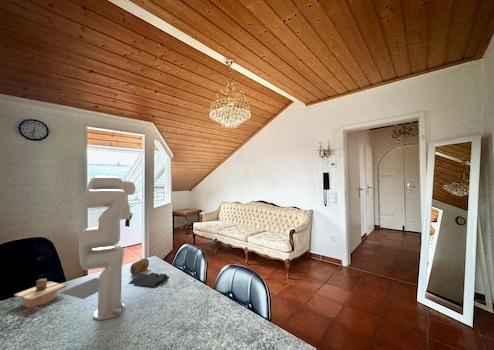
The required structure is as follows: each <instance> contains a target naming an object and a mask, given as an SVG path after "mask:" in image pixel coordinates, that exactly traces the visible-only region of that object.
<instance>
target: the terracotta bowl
mask: <svg viewBox="0 0 494 350" xmlns="http://www.w3.org/2000/svg"><path fill="white" fill-rule="evenodd" d="M57 296H58V290H57V291H55V292H52V293H50V294H47V295H45V296H43V297H40V298H38V299H35V300H33V301H29V300H26V299H23V298H22V299H23V304H22V306H23V307H26V308H34V307H37V306H41V305H44V304H46V303H48V302H50V301H53V300H55V298H56V297H57Z"/></svg>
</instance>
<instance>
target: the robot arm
mask: <svg viewBox="0 0 494 350" xmlns="http://www.w3.org/2000/svg"><path fill="white" fill-rule="evenodd" d="M135 193H136V185H135V182H133V181H128V180H123V179H122V178H120V177H118V176H116V175H115V176H114V175H110V176H109V175H108V176H107V175H96V176H94V177H92V178H91V179H90V181H89V182H88V184H87V187H86V188H85V191H84V194H83V196H82V203H83V205H84V206H85V207H86V208H92V209H93V208H106V209H105V210H104V211H103V212H101V214H100V215H99V217H98V226H95V227H87V228H84V229H83V230H82V231H81V232H80V233H79V237H78V253H79V265H80V268H81V269H82V270H84V271H89V270H95V269H103V270H102V271H101V272H100V274H99V276H98V278H99V279H98V292H97V309H96V310H95V311H94V312H93V315H92V316H93V319H95V320H96V321H104V320H109V319H113V318H114V317H117V316H119V315H120V314H122V313H123V311H124V310H125V309H126V306H125V304H124V303H123V301H122V269H123V261H124V255H125V250H124V248H123V246H121V245H118V244H119V242H120V240H121V220H124V221H125V222H124V224H125V227H128V228H129V227H130V221H131V220H132V217H133V215H134V214H133V213H132V212H131V209H130V207H131V206H130V204H129V196H133V195H134V194H135Z"/></svg>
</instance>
